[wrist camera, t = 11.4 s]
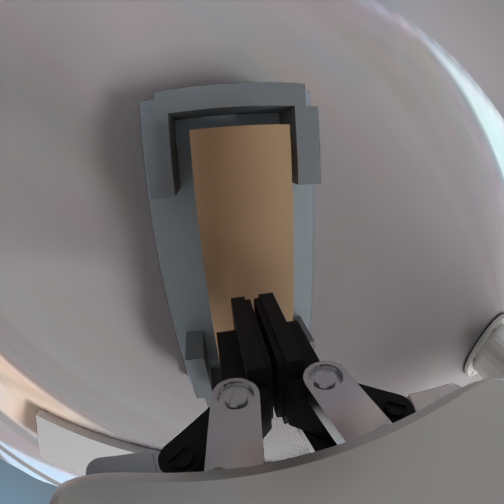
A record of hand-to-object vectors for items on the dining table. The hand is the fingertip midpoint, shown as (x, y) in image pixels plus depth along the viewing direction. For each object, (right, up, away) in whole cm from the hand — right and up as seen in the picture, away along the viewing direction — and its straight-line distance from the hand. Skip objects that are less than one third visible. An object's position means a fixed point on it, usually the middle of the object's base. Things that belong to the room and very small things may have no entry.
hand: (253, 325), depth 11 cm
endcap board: (-1, +3, +7) cm, 8 cm away
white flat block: (-13, -26, +17) cm, 33 cm away
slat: (-1, +2, +7) cm, 7 cm away
